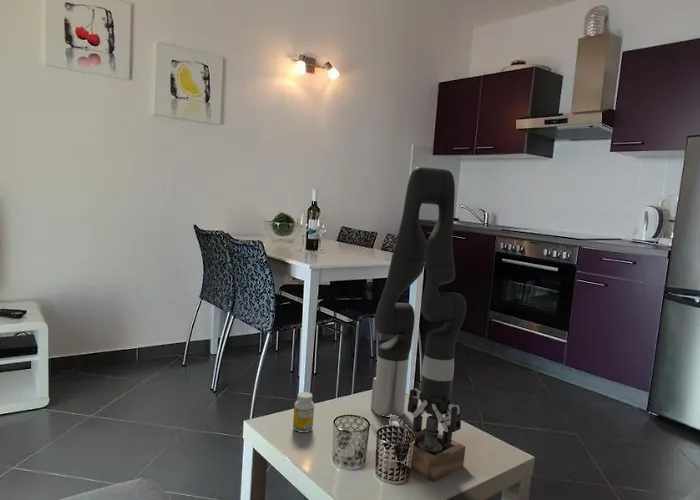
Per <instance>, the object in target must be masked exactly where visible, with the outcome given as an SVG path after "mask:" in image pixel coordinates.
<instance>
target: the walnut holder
mask: <svg viewBox="0 0 700 500" xmlns="http://www.w3.org/2000/svg"><path fill="white" fill-rule="evenodd" d="M424 429H425V428H424ZM424 429H421V431H419V432H417V433H416V432H414V434H415V438H416V440H415V443H414V445H413V454H412V460H411V469H410V470H411V471H413V472H415V473H417V474H419V475H420V476H422V477H424V478H426V479H428V480H429V481H430V482H432V483H435V482H436V481H438V480H440V479H442V478H443V477H445V476H447V475H449V474H450V473H453V472H454V471H456V470H458V469H460V468H462V467H464V463H465V455H466V454H465V453H466V446H465V445H464V444H461V443H460V442H457V441H455V440H452V439H451V443H450V444H449V445H447V446H443V445H442V436H443V434H441V433H438V435H437V442H438V443H439V444H441V446H442V450H441V452H440V453H439V454H437V455H435V456H434V455H432V454H430V453H428V452H426V451H424V450H422V449H420V448H419V446H418V443H419V442H420V441H422V440H424V438H425V431H424Z"/></svg>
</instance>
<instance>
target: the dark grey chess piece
mask: <svg viewBox="0 0 700 500" xmlns="http://www.w3.org/2000/svg"><path fill="white" fill-rule="evenodd" d="M439 423H440V422H439V420H438V418H437V417H434V416H433V415H431V414H430V415H428V416H427V418H426V423H425V428H424V431H425V438H424V440H422V441H420V442H419V443H418V446H419V448H420V449H422V450H424V451H426V452H428V453H430V454H432V455H434V456H435V455H437V454H439V453H440V452H441V450H442V446H441V444H439V443H438V442H437V435H438V434H440V431H439Z"/></svg>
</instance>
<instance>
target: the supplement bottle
mask: <svg viewBox="0 0 700 500" xmlns="http://www.w3.org/2000/svg"><path fill="white" fill-rule="evenodd" d="M296 398H297V400H296V401H295V402H294V408H293V422H292V423H293V424H292V429H293V428H294V429H295V430H297V431H301V432H307V431H310V430H311V429H312V428H313V427H314V415H315V403H314V402H313V394H312V393H311V392H308V391H303V392H302V391H301V392H298V393H297V397H296ZM294 429H293V430H294ZM295 430H294V431H295ZM312 430H313V429H312ZM312 430H311V431H312ZM311 431H310V432H311ZM307 433H308V432H307Z"/></svg>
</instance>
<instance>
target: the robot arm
mask: <svg viewBox="0 0 700 500" xmlns="http://www.w3.org/2000/svg"><path fill="white" fill-rule="evenodd" d="M455 185H456V184H455V179H454V175H453V173H452V172H451V171H450V170H448V169H445V168H435V167H426V166H416V167H415V168H414V169H413V170H412V171H411V173H410V175H409V179H408V182H407V187H406V192H405V198H404V203H403V204H404V205H403V210H402V216H401V221H400V225H399V230H398V234H397V237H396V241H395V244H394V247H393V250H392V251H393V252H392V255H391V260H390V265H389V268H388V273H387V277H386V281H385V284H384V287H383V289H382V293H381V296H380V299H379V301H378V304H377V307H376V312H375V317H374V326H375V329H376V331H377V333H379V334H380V335H394V337H392V338H391V339H389V340H387V341H385V342H382V343H381V344H380V345H379V346H378V349H377V359H376V360H377V361H376V371H375V372H376V375H375V377H373V379H372V390H371V401H370V402H371V404H370V410H372V412H374V414H375V415H377V416H379V417H382V416H381V415H384V416H389V415H390V414H392V415H396V416H399V417H398V418H400V417H401V418H402V417H403V416H404V414H405V403H406V394H407V393H406V392H407V385H408V384H407V381H408V371H409V361H410V359H409V358H410V353H411V349H412V343H413V342H412V341H413V334H414V329H415V311H414V310H415V309H414V307H413V306H412V304H410V303H409V302H408V303H407V302H398V300H399V299H400V297H401V295H402V294H403V293H404V292H405V291H407V290H408V288H409V287H410V286H411V285H412V284H414V282H415V281H417V279H418V278H419V277H420V276H421V274H422V273H423V270H424V269H425V281H424V282H425V283H424V288H423V289H424V290H423V295H422V299H421V304H420V310H421V313H422V316H423V318H424V320H426V321H428V322H432V323H434V322H435V323H443V325H442V326H440V327H438V328H435V329H432V330H428V332H427V333H426V336H425V344H424V354H423V360H422V366H421V376H420V378H421V379H420V386H419V387H420V388H419V387H415V388H413V389H410V390H409V396H408V403H407V408H406V409H407V412H408V413H411V414H412V416H413V421H412V428H413V432H414V433H417V432H419V431H421V430H423V429H422V428H423V427H422V425H423V416H422V415H424V413H426V414H428V415H430V416H431V415H433V416H434V417H437V418H438V421H439V422H438V423H440V424H441V426H442V428H443V431H442V445H443V446H447V445H449V444H450V443H451V440H452V438H453V437H452V436H453V433H456V432H457V431H459V430H461V427H462V405H460V404H457V405H455V404H452V402H451V396H452V393H453V391H452V390H453V381H454V373H455V371H454V370H455V351H456V341H457V338H458V335H459V333H460V331H461V328H462V325H463V323H464V321H465V318H466V315H467V310H468V309H467V308H468V307H467V301H466V298H465V297H464V296H463V294H461V293H459V292H452V291H449V292H446V291H445V292H444V291H439V287H440V286H441V285H446V284H450V283H452V282H453V281H454V280H455V279H456V265H455V256H454V246H453V245H454V244H453V243H454V242H453V241H454V240H453V237H454V220H455V219H454V218H455V201H456V200H455V199H456V197H455V195H456V191H455V190H456V186H455ZM422 204H427V205H437V207H438V216H437V221H436V223H435V226H434V228H433V229H432V230H431V233H430V235H429V236H428V239H427V238H426V236H425V233H424V231H423V229H422V228H423V227H422V225H421V222H420V210H421V206H422ZM419 401H420V402H421V404H419Z"/></svg>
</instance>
